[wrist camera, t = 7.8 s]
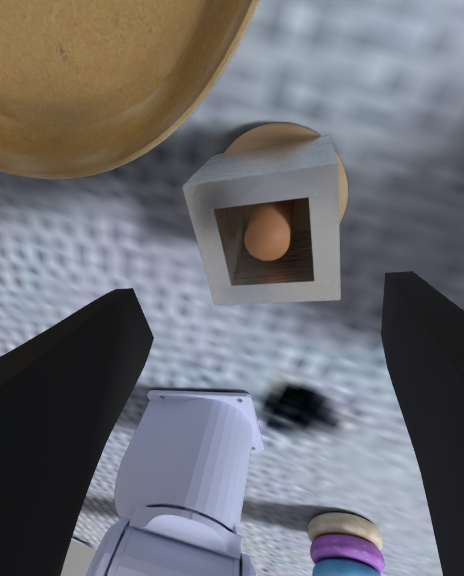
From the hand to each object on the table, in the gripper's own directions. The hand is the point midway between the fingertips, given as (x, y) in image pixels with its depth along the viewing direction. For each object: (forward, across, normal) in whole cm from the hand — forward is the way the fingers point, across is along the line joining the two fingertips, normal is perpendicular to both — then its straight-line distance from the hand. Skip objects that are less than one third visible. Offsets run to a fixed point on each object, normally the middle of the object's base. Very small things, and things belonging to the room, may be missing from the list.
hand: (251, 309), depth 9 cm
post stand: (+10, 0, 0) cm, 10 cm away
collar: (+9, 0, 0) cm, 9 cm away
